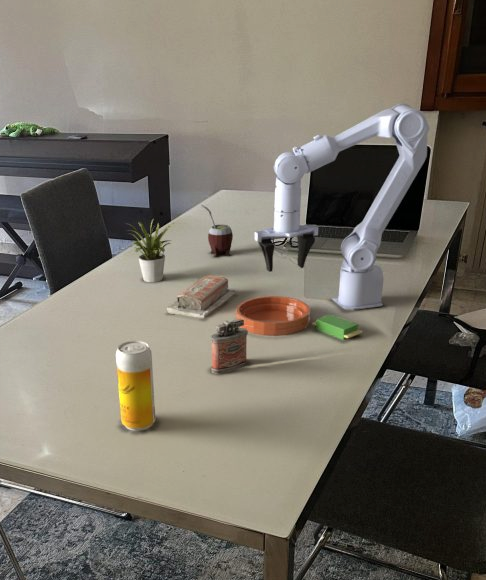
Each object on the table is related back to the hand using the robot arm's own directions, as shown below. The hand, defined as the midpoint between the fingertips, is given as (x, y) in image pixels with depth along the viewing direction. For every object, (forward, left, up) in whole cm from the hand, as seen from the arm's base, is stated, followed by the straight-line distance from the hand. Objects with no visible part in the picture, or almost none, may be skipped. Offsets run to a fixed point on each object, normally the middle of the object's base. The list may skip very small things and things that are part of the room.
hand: (285, 268), depth 171 cm
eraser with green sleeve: (-5, +19, -9) cm, 22 cm away
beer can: (+44, +45, -10) cm, 64 cm away
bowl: (+6, +9, -9) cm, 14 cm away
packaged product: (+18, -8, -10) cm, 22 cm away
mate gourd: (+3, -45, -10) cm, 46 cm away
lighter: (+22, +28, -10) cm, 37 cm away
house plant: (+27, -31, -10) cm, 42 cm away
